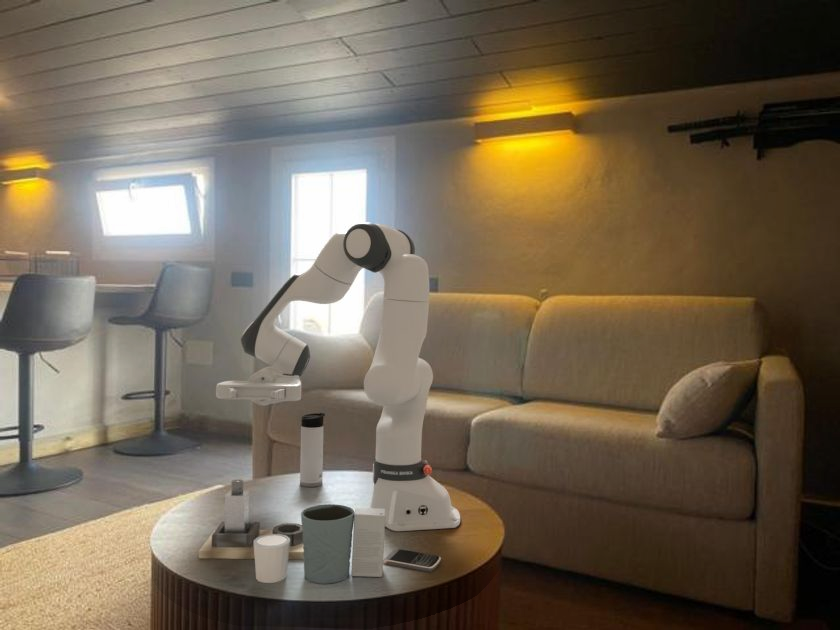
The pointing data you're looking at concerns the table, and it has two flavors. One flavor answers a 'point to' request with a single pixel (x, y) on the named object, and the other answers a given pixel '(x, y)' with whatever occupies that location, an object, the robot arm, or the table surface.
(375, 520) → the skincare box
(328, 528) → the green cylindrical pot
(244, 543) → the socket board
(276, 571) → the white cup
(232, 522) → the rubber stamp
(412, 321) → the robot arm
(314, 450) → the travel mug
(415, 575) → the table surface
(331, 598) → the table surface
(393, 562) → the cell phone
